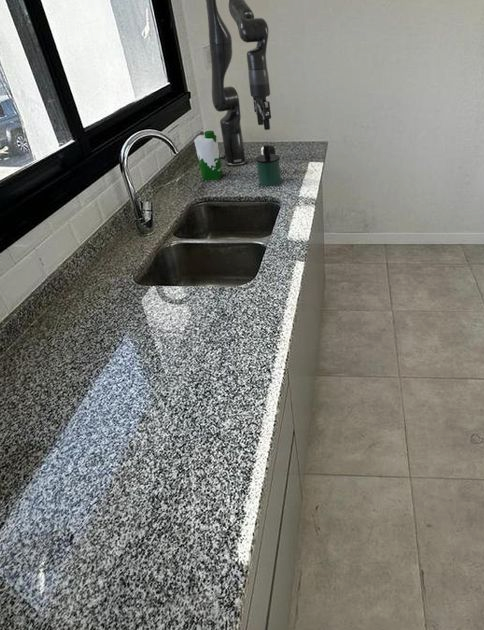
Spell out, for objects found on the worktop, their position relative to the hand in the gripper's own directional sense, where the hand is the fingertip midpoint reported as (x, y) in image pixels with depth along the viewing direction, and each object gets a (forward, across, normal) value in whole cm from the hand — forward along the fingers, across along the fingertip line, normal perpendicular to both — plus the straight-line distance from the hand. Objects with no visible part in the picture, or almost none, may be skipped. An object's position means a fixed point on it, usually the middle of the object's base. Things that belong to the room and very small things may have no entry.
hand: (264, 127), depth 175 cm
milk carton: (+24, +19, +21) cm, 37 cm away
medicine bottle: (+24, +12, -4) cm, 27 cm away
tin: (+23, 0, 0) cm, 23 cm away
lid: (+13, 0, 0) cm, 13 cm away
